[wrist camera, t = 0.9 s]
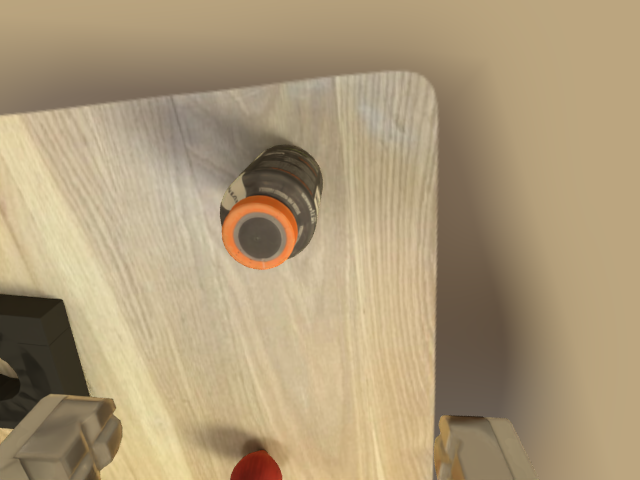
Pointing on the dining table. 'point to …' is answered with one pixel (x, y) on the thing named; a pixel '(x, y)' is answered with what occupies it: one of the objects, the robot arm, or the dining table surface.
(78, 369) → the socket pad
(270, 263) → the pill bottle
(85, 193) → the dining table surface
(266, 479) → the onion
